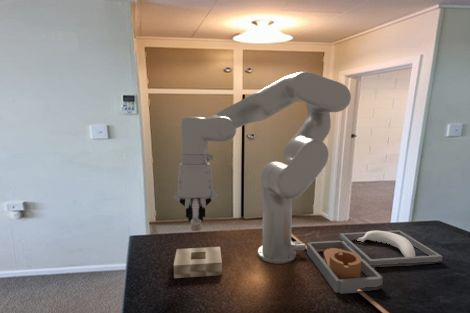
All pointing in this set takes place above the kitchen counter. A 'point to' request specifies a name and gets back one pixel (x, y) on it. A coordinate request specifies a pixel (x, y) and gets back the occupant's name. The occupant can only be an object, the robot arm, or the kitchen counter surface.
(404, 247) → the banana
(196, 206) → the steel peg
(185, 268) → the hole block
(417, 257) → the banana edging
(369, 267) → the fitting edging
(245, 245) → the kitchen counter surface
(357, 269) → the bracket
